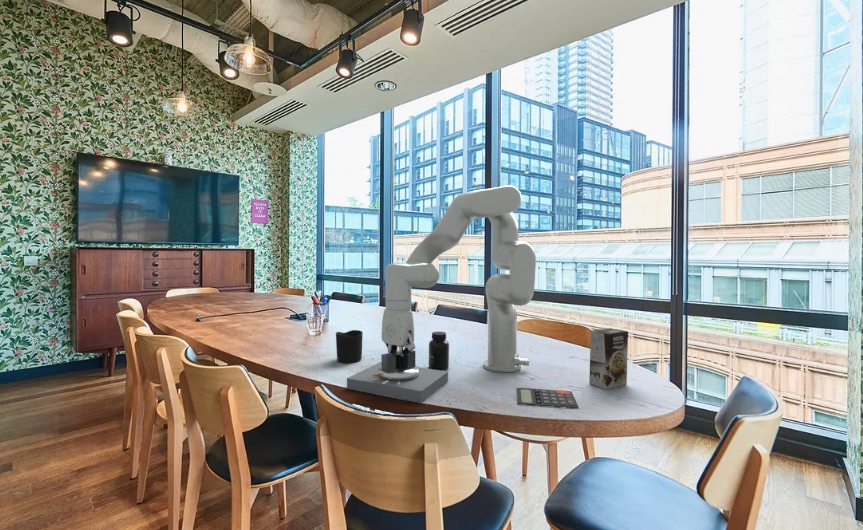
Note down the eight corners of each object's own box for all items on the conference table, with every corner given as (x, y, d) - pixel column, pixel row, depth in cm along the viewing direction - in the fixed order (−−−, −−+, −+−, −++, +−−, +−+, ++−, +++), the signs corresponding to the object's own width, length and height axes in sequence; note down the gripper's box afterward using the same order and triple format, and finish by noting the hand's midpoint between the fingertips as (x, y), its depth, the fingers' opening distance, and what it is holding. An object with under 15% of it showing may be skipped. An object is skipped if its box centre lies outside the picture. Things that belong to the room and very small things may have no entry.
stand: (448, 381, 121) (448, 370, 121) (421, 402, 105) (421, 390, 104) (380, 370, 131) (380, 361, 131) (346, 388, 115) (346, 377, 115)
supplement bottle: (425, 369, 132) (425, 333, 132) (433, 364, 139) (433, 330, 138) (444, 372, 130) (444, 335, 129) (451, 366, 136) (451, 331, 135)
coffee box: (606, 390, 114) (608, 334, 113) (588, 383, 119) (589, 329, 118) (627, 385, 118) (629, 331, 117) (609, 378, 123) (610, 327, 123)
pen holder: (341, 356, 149) (341, 329, 148) (366, 357, 148) (365, 330, 147) (331, 363, 140) (331, 335, 139) (357, 364, 138) (357, 335, 138)
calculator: (578, 406, 101) (518, 402, 103) (578, 410, 101) (517, 405, 103) (571, 390, 112) (516, 386, 115) (571, 393, 112) (516, 390, 115)
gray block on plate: (403, 365, 126) (403, 345, 126) (427, 374, 117) (427, 353, 116) (363, 374, 117) (363, 353, 117) (385, 385, 108) (385, 362, 107)
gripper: (371, 303, 120) (371, 364, 121) (407, 310, 108) (407, 376, 109) (390, 301, 125) (390, 359, 126) (427, 307, 113) (427, 370, 114)
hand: (398, 366), depth 117 cm, fingers closed on gray block on plate, 3 cm apart
